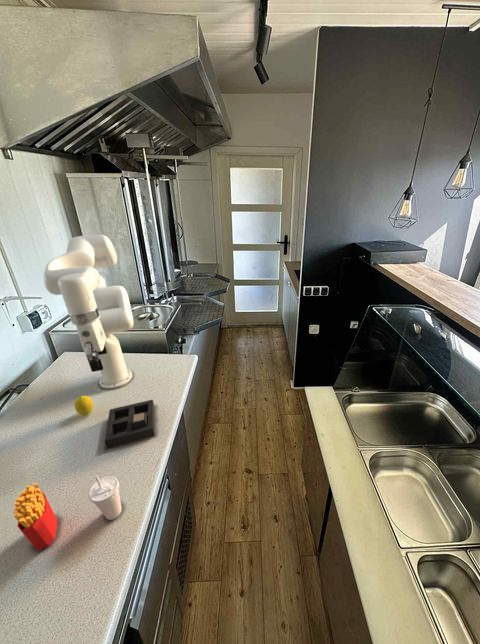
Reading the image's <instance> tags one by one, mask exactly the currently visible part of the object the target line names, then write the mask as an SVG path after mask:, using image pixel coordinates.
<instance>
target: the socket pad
mask: <svg viewBox="0 0 480 644" xmlns="http://www.w3.org/2000/svg"><path fill="white" fill-rule="evenodd" d="M143 412H146V416H147V420H148V426H146V427H142V428H139V429H135V430H134V429H133V425H132V418H133V415H135V414H139V413H143ZM155 414H156V413H155V404H154V399H150V400H145V401H140V402H135V403H132V404H127V405H122V406H118V407H114V408H110V409H109V412H108V417H107V422H106V428H105V434H104V440H103V443H104V444H105V447H106V449H112V448H116V447H119V446H122V445H127V444H130V443H133V442H137V441H141V440H145V439H149V438H153V437H156V427H155V426H156V424H155V423H156V422H155V421H156V419H155V417H156V415H155ZM125 430H126V431H125ZM121 431H123V432H121ZM117 432H119V433H117Z"/></svg>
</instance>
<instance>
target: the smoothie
mask: <svg viewBox="0 0 480 644" xmlns="http://www.w3.org/2000/svg"><path fill="white" fill-rule="evenodd" d="M94 477H95V479H96V482H94V484H93V485H91V488H90V489H89V493H88V497H89V501H90V502H91V503H92V504H94V505H96V507H97V508H98V509H99V511H100V513H102V515H103V516H104V517H105V519H106V520H108V521H112V520H115V519H117V518H118V517H119V516H120V514H121V512H122V503H121V497H120V491H119V490H120V489H119V488H120V483H119V482H120V481H118V479H117V478H116V477H115V476H112V475H109V476H104V477H102V478H100V477H99V475H98V474H97V475H95V476H94Z"/></svg>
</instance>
